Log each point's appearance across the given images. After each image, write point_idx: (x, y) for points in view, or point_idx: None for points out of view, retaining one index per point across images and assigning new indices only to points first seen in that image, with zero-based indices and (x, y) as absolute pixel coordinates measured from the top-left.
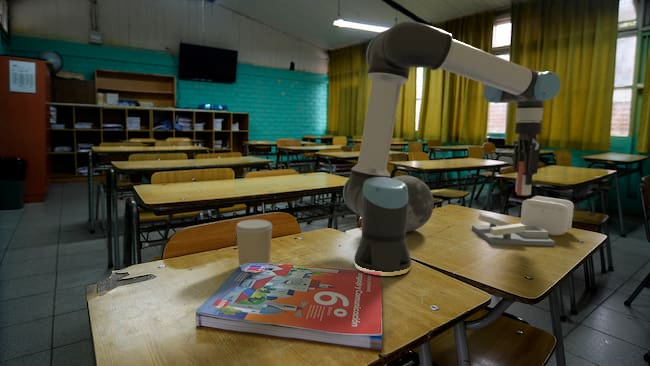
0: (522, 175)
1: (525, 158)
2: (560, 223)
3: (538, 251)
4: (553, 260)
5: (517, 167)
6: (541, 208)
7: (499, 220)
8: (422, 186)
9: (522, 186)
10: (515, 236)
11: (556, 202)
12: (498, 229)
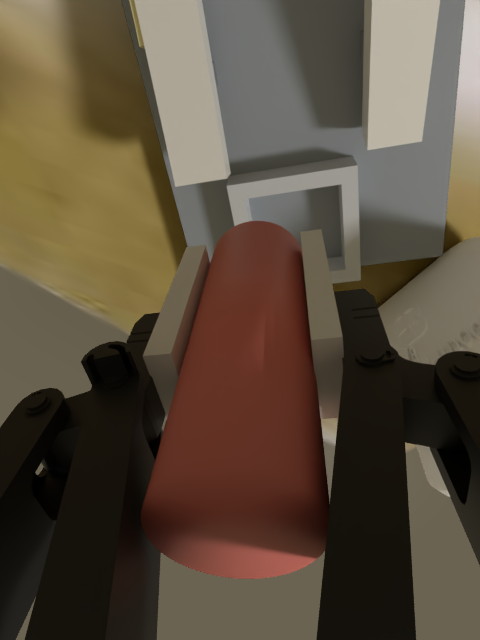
0: (190, 346)
1: (72, 574)
2: None
3: (98, 189)
4: (4, 207)
5: (358, 394)
6: (425, 359)
7: (368, 80)
8: None
9: (183, 280)
10: (230, 136)
11: None
12: (136, 9)
